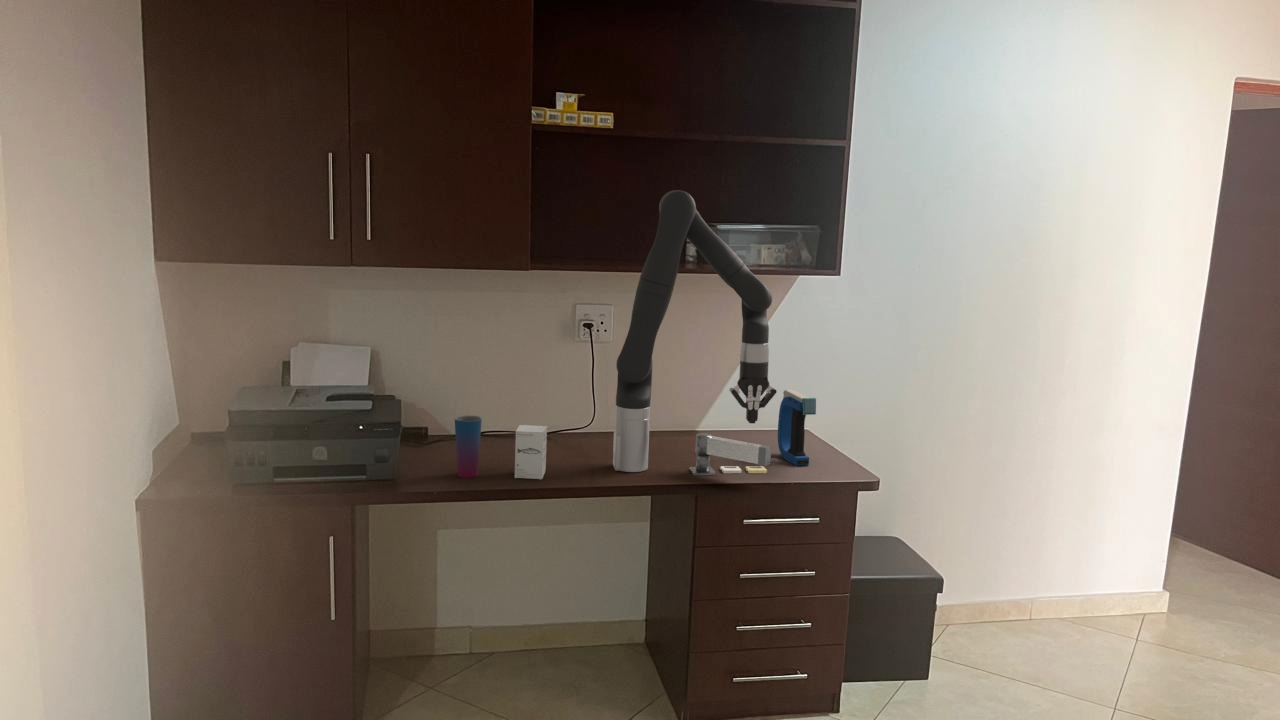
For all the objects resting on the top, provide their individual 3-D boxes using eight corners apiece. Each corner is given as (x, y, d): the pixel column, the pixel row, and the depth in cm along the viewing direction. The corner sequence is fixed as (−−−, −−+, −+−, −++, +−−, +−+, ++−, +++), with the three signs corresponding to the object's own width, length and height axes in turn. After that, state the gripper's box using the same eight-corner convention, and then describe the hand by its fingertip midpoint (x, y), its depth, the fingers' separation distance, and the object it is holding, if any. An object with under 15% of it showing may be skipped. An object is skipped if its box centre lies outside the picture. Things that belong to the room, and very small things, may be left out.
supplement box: (513, 478, 239) (514, 430, 237) (518, 470, 246) (519, 424, 244) (542, 480, 238) (543, 431, 236) (546, 472, 246) (547, 425, 244)
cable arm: (692, 452, 250) (693, 435, 249) (700, 449, 253) (701, 432, 252) (763, 466, 238) (764, 448, 238) (771, 463, 242) (772, 445, 241)
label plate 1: (723, 473, 251) (723, 469, 251) (720, 469, 255) (720, 465, 255) (741, 473, 251) (741, 470, 251) (738, 469, 255) (738, 465, 255)
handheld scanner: (798, 468, 258) (804, 398, 255) (774, 453, 273) (780, 387, 270) (813, 468, 259) (819, 398, 256) (789, 453, 275) (794, 387, 272)
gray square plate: (693, 475, 248) (694, 457, 247) (689, 469, 254) (690, 451, 253) (715, 475, 248) (716, 457, 248) (711, 469, 254) (712, 451, 254)
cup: (455, 471, 243) (456, 415, 241) (482, 471, 244) (482, 415, 241) (452, 478, 237) (452, 421, 234) (479, 479, 237) (480, 421, 235)
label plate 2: (748, 473, 252) (749, 470, 252) (745, 469, 256) (745, 465, 255) (766, 473, 252) (767, 470, 252) (763, 469, 256) (763, 466, 256)
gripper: (732, 361, 244) (730, 426, 247) (782, 361, 246) (779, 425, 248) (726, 357, 251) (724, 419, 254) (774, 357, 253) (772, 419, 256)
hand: (751, 422), depth 251 cm, fingers closed
